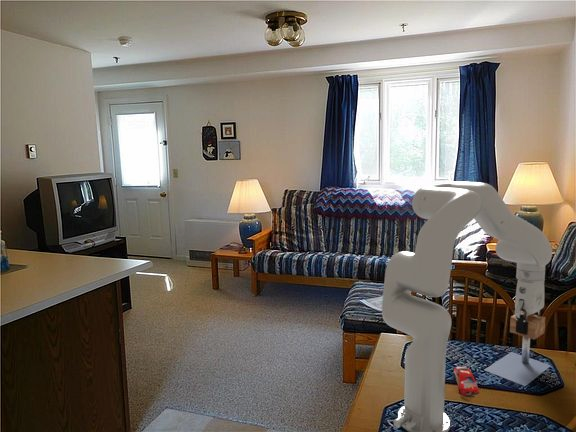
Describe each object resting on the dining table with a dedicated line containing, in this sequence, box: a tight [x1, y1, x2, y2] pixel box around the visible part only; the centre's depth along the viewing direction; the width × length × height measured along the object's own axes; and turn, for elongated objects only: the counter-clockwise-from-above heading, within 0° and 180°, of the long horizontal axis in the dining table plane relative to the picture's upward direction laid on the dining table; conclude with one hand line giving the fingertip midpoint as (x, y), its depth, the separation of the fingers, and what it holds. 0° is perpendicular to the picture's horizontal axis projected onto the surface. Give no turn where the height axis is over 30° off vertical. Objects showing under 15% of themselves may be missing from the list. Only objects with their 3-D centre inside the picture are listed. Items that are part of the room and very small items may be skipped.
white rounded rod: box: [521, 336, 531, 364], centre depth 134 cm, size 2×2×11 cm
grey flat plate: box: [484, 351, 552, 387], centre depth 132 cm, size 18×12×1 cm, turn 128°
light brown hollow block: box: [509, 313, 547, 340], centre depth 133 cm, size 7×7×5 cm
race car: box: [453, 366, 480, 398], centre depth 124 cm, size 13×5×4 cm, turn 167°
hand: (527, 329), depth 133 cm, fingers closed on light brown hollow block, 7 cm apart
